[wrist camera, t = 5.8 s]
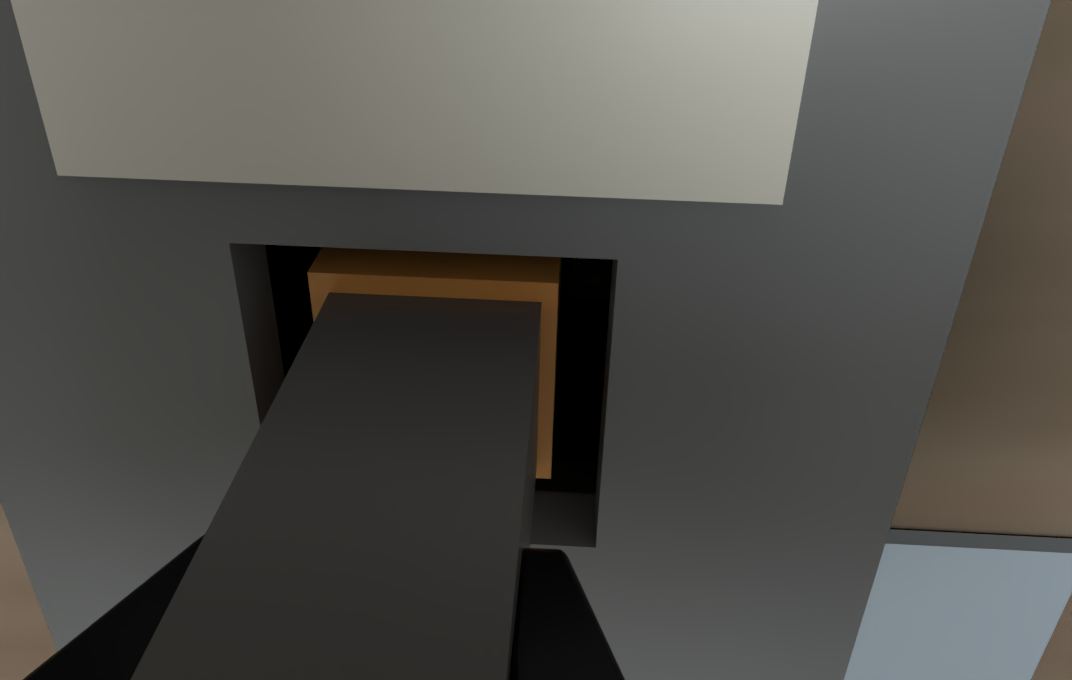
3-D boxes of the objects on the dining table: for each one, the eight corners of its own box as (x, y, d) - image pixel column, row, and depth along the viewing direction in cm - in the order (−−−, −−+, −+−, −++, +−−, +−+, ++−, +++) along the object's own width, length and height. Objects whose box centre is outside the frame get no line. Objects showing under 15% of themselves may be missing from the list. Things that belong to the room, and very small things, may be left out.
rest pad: (977, 761, 21) (984, 777, 21) (674, 743, 21) (676, 758, 21) (1080, 539, 17) (1089, 553, 17) (711, 520, 18) (714, 534, 17)
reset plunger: (557, 352, 14) (551, 478, 12) (378, 343, 14) (331, 467, 12) (564, 181, 13) (558, 282, 10) (364, 173, 13) (308, 272, 10)
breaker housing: (768, 503, 17) (828, 751, 13) (198, 473, 18) (66, 705, 13) (903, -153, 12) (1098, -113, 7) (52, -176, 12) (-268, -152, 7)
